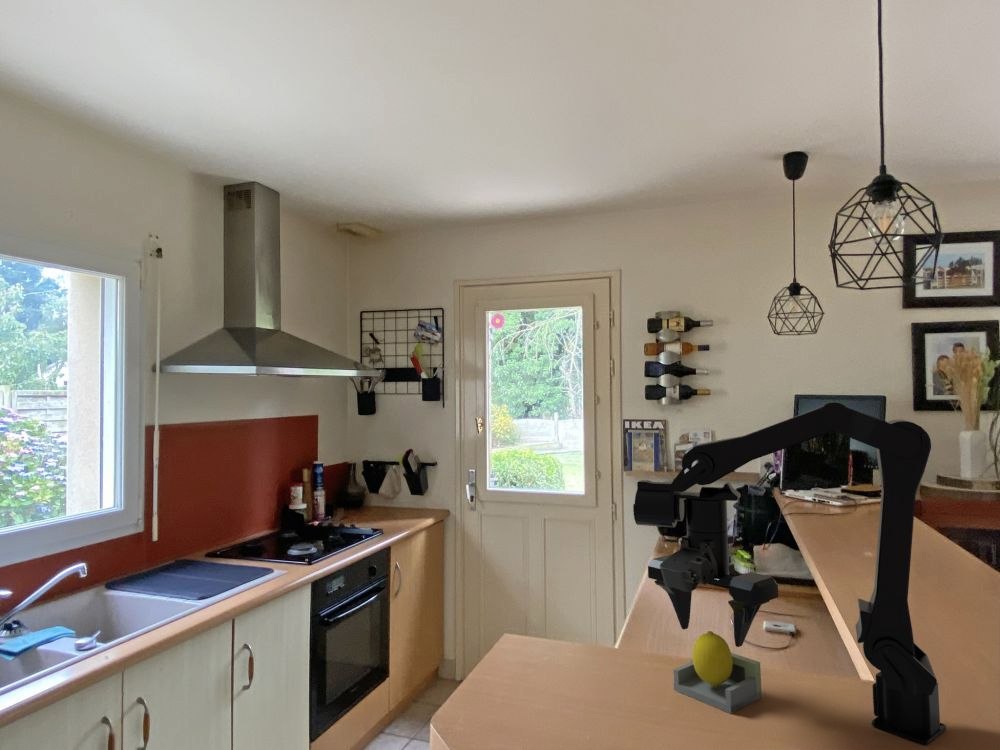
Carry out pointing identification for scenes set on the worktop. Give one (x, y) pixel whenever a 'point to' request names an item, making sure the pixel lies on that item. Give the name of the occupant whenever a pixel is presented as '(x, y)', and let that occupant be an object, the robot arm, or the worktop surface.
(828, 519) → the worktop surface
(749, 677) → the miniature couch
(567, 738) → the worktop surface
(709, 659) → the lemon
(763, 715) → the worktop surface
